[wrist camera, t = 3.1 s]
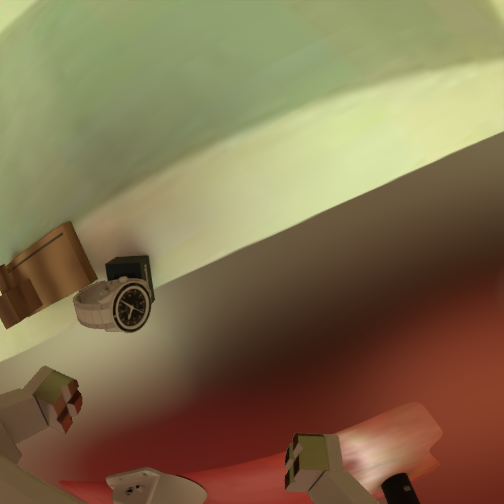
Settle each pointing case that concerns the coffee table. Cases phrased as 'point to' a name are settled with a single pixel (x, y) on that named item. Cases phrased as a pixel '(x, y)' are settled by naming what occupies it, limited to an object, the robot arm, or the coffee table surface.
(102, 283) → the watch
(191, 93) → the coffee table surface
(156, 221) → the coffee table surface
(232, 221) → the coffee table surface
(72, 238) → the board
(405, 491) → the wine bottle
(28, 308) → the brown stepped block
